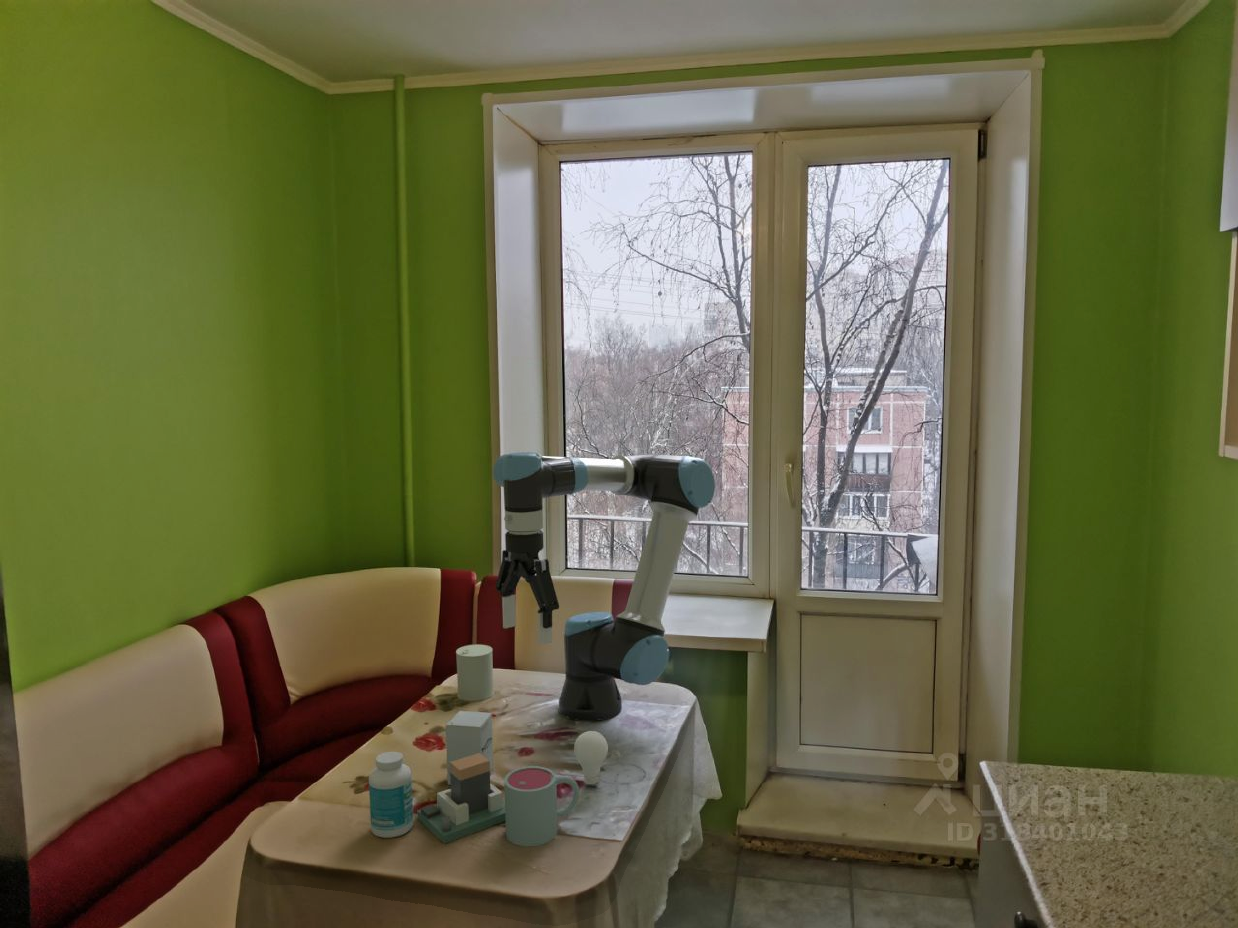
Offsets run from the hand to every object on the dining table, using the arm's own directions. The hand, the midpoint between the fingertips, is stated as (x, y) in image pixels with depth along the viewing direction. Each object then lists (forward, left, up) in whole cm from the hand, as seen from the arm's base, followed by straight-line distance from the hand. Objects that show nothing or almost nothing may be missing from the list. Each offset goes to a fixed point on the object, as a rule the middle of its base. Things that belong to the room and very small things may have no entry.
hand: (527, 634), depth 172 cm
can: (-11, -44, -29) cm, 54 cm away
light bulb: (-6, +13, -29) cm, 32 cm away
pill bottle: (+31, +3, -29) cm, 42 cm away
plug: (+18, +8, -27) cm, 33 cm away
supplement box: (+11, -5, -29) cm, 31 cm away
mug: (+10, +20, -29) cm, 37 cm away
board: (+19, +8, -29) cm, 35 cm away
